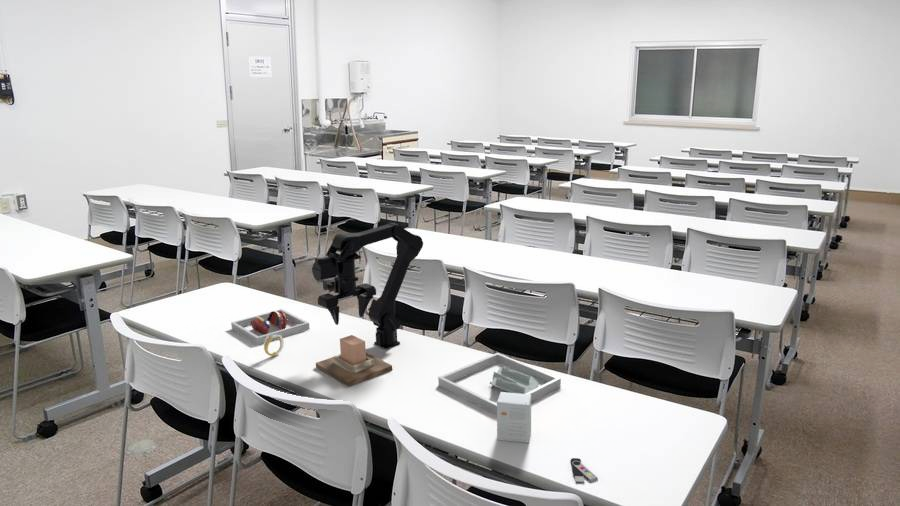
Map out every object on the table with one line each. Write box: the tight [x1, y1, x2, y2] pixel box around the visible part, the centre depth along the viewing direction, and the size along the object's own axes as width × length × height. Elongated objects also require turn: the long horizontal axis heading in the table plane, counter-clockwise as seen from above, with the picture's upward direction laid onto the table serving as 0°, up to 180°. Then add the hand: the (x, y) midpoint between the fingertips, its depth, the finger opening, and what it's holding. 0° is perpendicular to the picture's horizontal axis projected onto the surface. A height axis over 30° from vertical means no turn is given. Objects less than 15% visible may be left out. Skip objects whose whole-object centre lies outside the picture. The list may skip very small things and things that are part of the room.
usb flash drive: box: [570, 457, 599, 483], centre depth 146 cm, size 9×5×1 cm, turn 176°
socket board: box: [315, 352, 393, 387], centre depth 199 cm, size 16×18×4 cm
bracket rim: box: [437, 352, 562, 415], centre depth 187 cm, size 25×25×2 cm
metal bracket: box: [489, 365, 541, 405], centre depth 185 cm, size 14×6×15 cm
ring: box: [263, 331, 285, 357], centre depth 208 cm, size 7×3×8 cm, turn 137°
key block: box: [339, 334, 367, 365], centre depth 198 cm, size 7×4×8 cm, turn 43°
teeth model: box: [250, 310, 288, 335], centre depth 231 cm, size 8×6×12 cm
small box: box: [496, 391, 532, 444], centre depth 160 cm, size 8×6×10 cm
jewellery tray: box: [230, 308, 310, 346], centre depth 231 cm, size 20×20×2 cm
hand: (348, 320), depth 206 cm, fingers open, 9 cm apart
